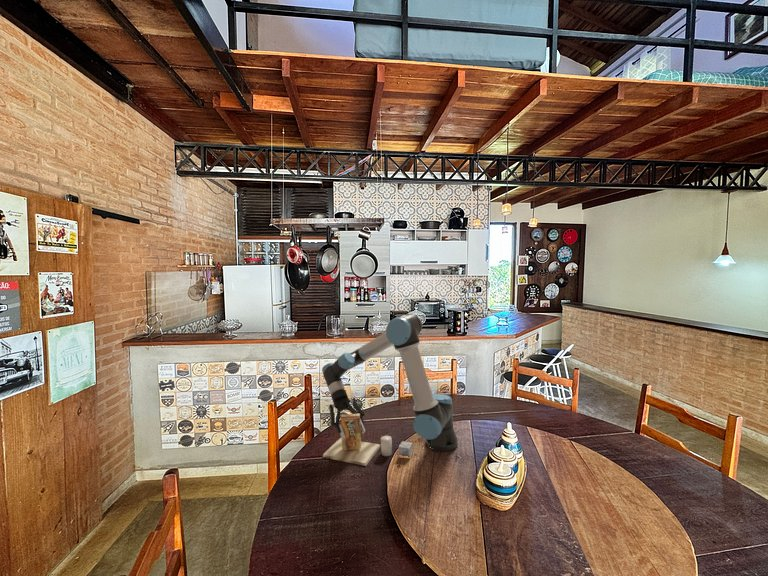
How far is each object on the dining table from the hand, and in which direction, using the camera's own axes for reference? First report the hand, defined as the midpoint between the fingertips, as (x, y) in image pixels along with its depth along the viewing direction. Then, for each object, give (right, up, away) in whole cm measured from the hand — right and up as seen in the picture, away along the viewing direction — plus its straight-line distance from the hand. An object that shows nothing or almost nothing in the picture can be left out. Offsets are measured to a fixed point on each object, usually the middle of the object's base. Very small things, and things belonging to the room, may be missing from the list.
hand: (354, 435), depth 149 cm
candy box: (-1, -7, +3) cm, 8 cm away
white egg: (+15, -8, 0) cm, 17 cm away
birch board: (-1, -9, +3) cm, 10 cm away
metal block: (+24, -8, -2) cm, 25 cm away
